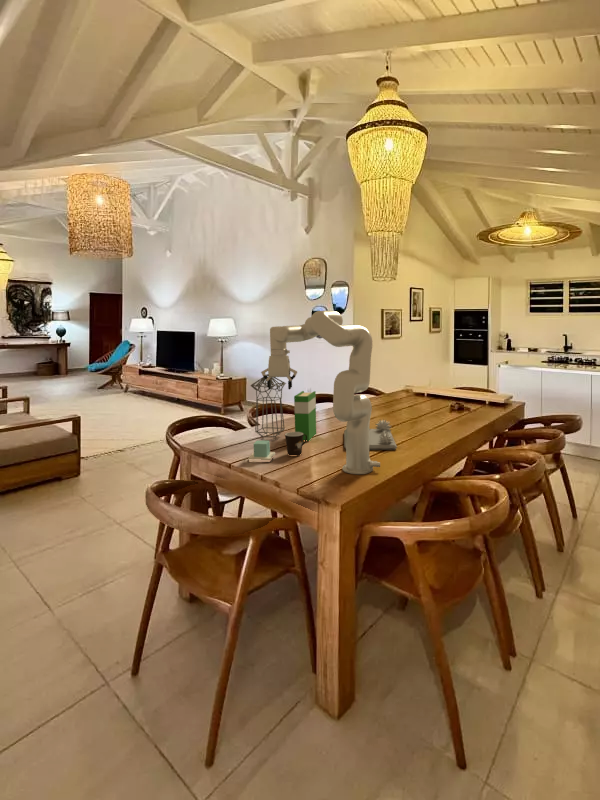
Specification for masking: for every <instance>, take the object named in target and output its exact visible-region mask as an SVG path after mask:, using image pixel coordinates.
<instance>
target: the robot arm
mask: <svg viewBox="0 0 600 800" xmlns="http://www.w3.org/2000/svg"><path fill="white" fill-rule="evenodd" d="M343 322H344V320H343V316H342V315H341V313H339V312H338V311H335V310H318V311H315V312H313V314H311V317H308V318H307V319H306V320H305V322H304V324H299V325H282V326H277V325H276V326H271V327H270V328H269V339H270V340H269V342H270V343H269V344H270V355H269V357H268V364H267V365H268V367H267V368H266V369H264V370H262V371H261V372H260V373H261V375H262V377H264V378H265V379H266V380H265V381H266V383H267V384H266V385H267V387H266V388H268V389H270V390H271V386H272V385H271V380H270V379H271V378H272V377H276V378H287V380H288V381H287V385H288V386H287V390H291V389H292V388H293V380H294V379H295V378H296V376H297V374H298V370H295V369H294V368H292V367H291V364H290V356H289V355H288V354H290V351H291V350H288V349H287V343H288V344H289V343H296V342H297V343H301V342H305V341H308V340H312V339H314V338H316V337H318V336H320V337H321V338H322V339H324V341H326V342H327V343H328V344H330V345H331V346H333V347H336V348H344V347H352V350H351V352H350V355H349V360H348V361H349V362H348V363H349V366H348V369H346V370H342V371H340V372H339V373H338V374H336V376H335V378H334V382H333V397H332V400H333V401H332V410H333V415H334V417H335V418H336V420H338V421H339V422H343V423H344V422H347V423H346V428H345V430H346V448H345V453H346V454H345V457H346V458H345V459H346V460H345V461H346V464H344V465H342V471H343V472H344V473H346V474H351V475H366V474H370V473H371V472H373V471H374V468H375V467H376V468H380V467H381V462H379V461H377V460H371V457H370V450H369V429H370V421H371V416H372V410H373V409H372V407H373V405H372V402H371V400H370V398H369V397H368V396H366V395H364V394H358V393H362V392H364V391H365V392H366V391H367V389H369V386H370V383H371V382H370V381H371V365H372V364H371V363H372V362H371V361H372V351H373V337H372V335H371V332H370V331H369V330H368V329H367V328H366V327H364V326H362V325H359V324H343ZM266 373H267V374H268V375H269V376H266ZM291 373H293V374H292V376H291ZM268 389H267V390H268Z"/></svg>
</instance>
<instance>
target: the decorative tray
mask: <svg viewBox="0 0 600 800" xmlns="http://www.w3.org/2000/svg"><path fill="white" fill-rule="evenodd" d="M390 423H391V422H390V421H387V419H385V420H384V418H382V420H381V419H379V420H378V421H377V423H375V426H374V428H369V451H372V450H373V451H377V450H378V451H380V450H381V451H386V450H387V451H395V450H396V449H398V445H397V444H396V440H395V439H394V436H393V434H392V430H391V428H393V426H392V425H390ZM343 434H344V435H343V436H344V437H343V440H344V443H343V445H344V448H345V449H346V429H345V430H344V433H343Z"/></svg>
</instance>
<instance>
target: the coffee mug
mask: <svg viewBox="0 0 600 800" xmlns="http://www.w3.org/2000/svg"><path fill="white" fill-rule="evenodd" d="M304 435H305V434H303V433H301V432H295V431H290V432H286V433H284V437H285V445H286V451H287V455H288V454H289V455H300V454H301V453H302V452H303V446H304V445H305V443H307V442H306V440H307V435H305V436H306V440H305V442H303V436H304ZM301 455H302V454H301Z"/></svg>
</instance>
